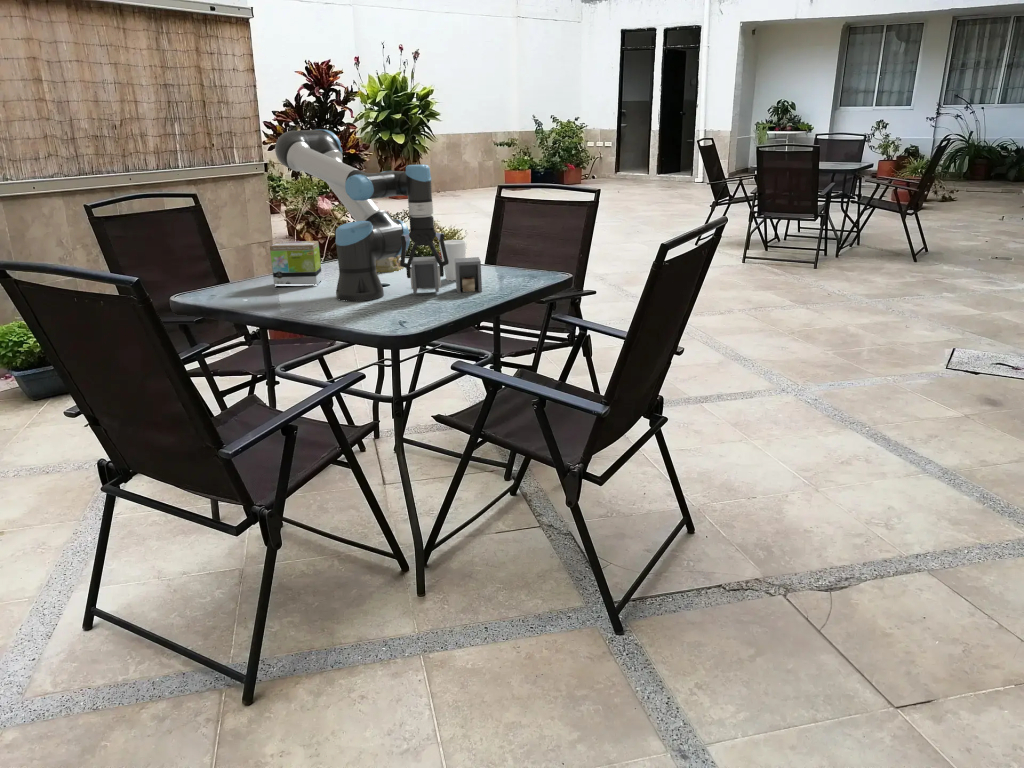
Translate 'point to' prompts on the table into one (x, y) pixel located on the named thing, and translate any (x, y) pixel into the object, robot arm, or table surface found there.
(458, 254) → the foam cup
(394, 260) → the ceramic model
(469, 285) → the letter cube
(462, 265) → the far cover
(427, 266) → the near cover
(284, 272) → the tea box
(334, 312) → the table surface
